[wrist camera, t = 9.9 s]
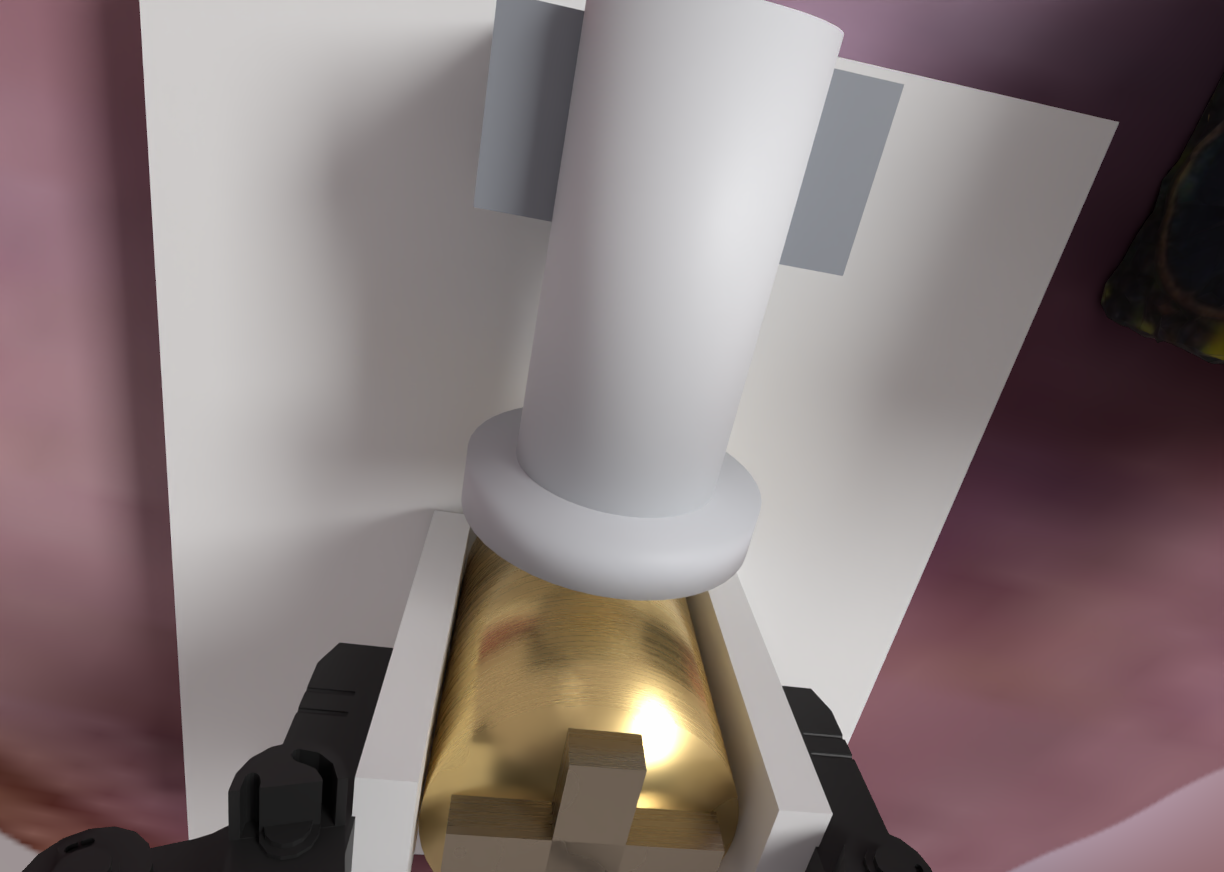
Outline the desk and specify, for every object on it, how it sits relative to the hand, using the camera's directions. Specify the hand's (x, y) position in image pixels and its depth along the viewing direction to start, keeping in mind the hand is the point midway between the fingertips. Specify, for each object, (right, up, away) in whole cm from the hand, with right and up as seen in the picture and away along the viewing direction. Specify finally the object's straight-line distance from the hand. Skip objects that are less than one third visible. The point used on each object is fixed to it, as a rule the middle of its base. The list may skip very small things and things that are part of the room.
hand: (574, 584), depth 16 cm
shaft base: (0, +2, +2) cm, 2 cm away
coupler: (0, 0, 0) cm, 0 cm away
